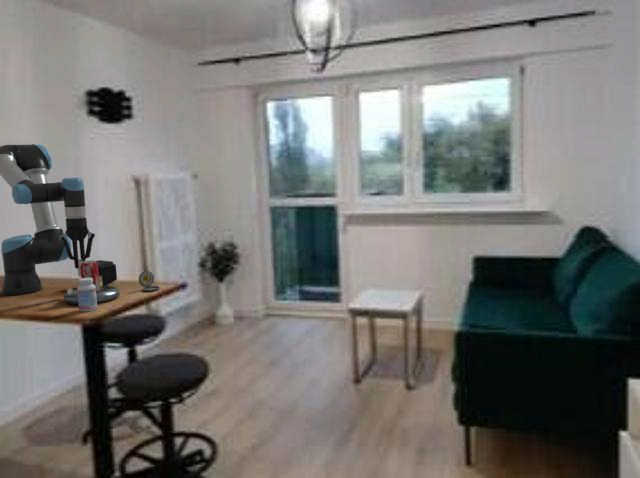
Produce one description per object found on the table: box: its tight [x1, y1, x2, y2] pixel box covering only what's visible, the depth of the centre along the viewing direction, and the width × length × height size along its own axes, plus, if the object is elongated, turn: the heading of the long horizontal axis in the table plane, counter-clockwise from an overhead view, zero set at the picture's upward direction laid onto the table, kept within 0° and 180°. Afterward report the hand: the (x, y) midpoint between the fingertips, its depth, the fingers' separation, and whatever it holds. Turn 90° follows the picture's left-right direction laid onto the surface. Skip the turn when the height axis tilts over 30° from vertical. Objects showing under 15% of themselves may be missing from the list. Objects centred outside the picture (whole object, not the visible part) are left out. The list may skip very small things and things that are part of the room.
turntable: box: [63, 276, 120, 305], centre depth 217 cm, size 23×20×6 cm
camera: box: [95, 259, 118, 287], centre depth 239 cm, size 11×11×15 cm
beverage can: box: [80, 260, 100, 292], centre depth 215 cm, size 6×6×12 cm
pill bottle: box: [76, 278, 98, 313], centre depth 199 cm, size 6×6×11 cm
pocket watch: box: [138, 264, 161, 292], centre depth 229 cm, size 8×8×10 cm
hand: (81, 275), depth 223 cm, fingers closed
